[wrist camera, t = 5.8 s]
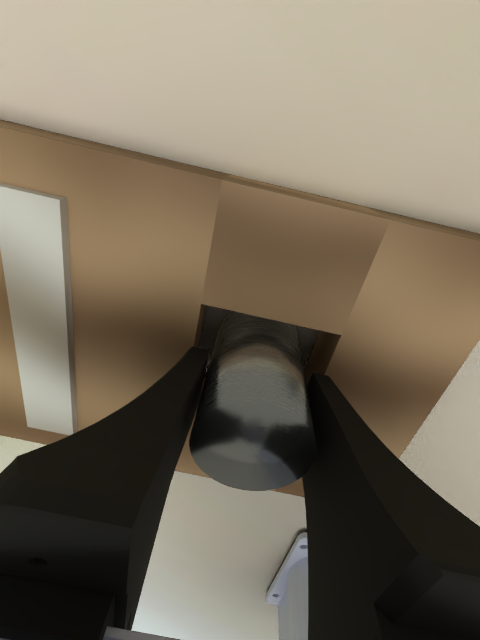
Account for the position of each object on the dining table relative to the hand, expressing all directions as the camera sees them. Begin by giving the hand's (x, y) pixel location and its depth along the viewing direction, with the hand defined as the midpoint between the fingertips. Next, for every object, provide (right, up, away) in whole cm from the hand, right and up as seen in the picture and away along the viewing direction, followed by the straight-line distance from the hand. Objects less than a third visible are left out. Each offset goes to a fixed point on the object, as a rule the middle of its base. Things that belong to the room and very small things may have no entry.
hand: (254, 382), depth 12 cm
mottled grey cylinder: (0, +1, +2) cm, 3 cm away
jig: (-2, +2, +2) cm, 3 cm away
